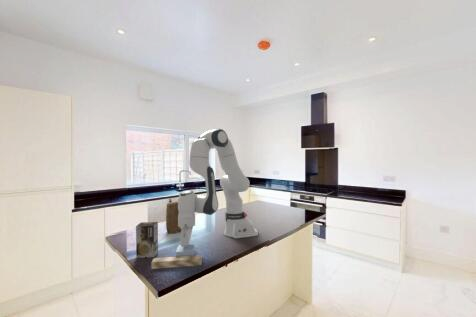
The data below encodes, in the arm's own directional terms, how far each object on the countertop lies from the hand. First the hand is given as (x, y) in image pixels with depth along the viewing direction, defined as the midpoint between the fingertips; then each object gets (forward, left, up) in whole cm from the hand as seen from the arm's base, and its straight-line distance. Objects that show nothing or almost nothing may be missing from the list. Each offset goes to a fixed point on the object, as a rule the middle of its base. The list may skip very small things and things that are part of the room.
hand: (186, 248), depth 110 cm
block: (+12, -35, -2) cm, 37 cm away
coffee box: (+20, 0, -2) cm, 20 cm away
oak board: (+3, +13, -2) cm, 13 cm away
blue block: (0, +6, -2) cm, 6 cm away
